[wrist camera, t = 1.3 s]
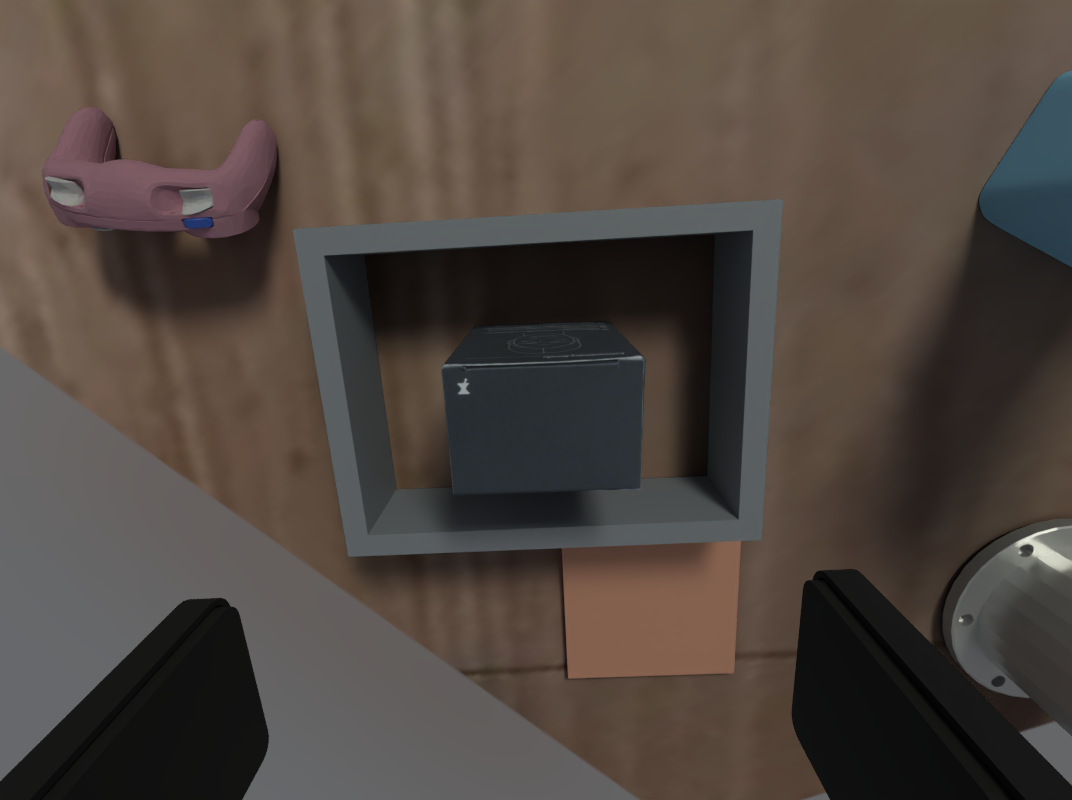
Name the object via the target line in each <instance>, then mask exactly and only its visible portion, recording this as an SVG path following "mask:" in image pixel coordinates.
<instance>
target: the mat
mask: <svg viewBox="0 0 1072 800" xmlns="http://www.w3.org/2000/svg"><path fill="white" fill-rule="evenodd" d="M740 547H741V541H725V542H701V543H676V544H652V545H627V546H602V547H578V548H562V564H563V584H564V605H565V625H566V646H567V666H568V679H569V678H600V677H630V676H661V675H691V674H722V673H734V663H735V643H736V624H737V605H738V586H739V566H740Z"/></svg>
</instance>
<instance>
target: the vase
mask: <svg viewBox="0 0 1072 800" xmlns="http://www.w3.org/2000/svg"><path fill="white" fill-rule="evenodd" d="M979 205H980V209H981V212H982V214H983V216H984V217H985V218H986V219H987V220H988V221H990V222H991V223H992V224H994V225H995V226H997V227H999V228H1000V229H1002V230H1004V231H1006V232H1008V233H1009V234H1011V235H1013V236H1015V237H1017V238H1019V239H1020V240H1022V241H1024V242H1026V243H1028V244H1030V245H1031V246H1033V247H1035V248H1037V249H1039V250H1041V251H1042V252H1044V253H1046V254H1048V255H1050V256H1052V257H1053V258H1055V259H1057V260H1059V261H1061V262H1063V263H1064V264H1066V265H1068V266H1070V267H1072V71H1069V72H1066V73H1063V74H1062V75H1060V76H1059V77H1058V78H1057V79H1056V80H1055V81H1054V82H1053V83H1052V85H1051V86H1050V87H1049V89H1048V90H1047V91H1046V93H1045V94H1044V96H1043V97H1042V99H1041V100H1040V102H1039V103H1038V105H1037V106H1036V108H1035V110H1034V111H1033V113H1032V114H1031V116H1030V117H1029V119H1028V120H1027V122H1026V123H1025V125H1024V126H1023V128H1022V129H1021V131H1020V132H1019V134H1018V135H1017V137H1016V139H1015V140H1014V142H1013V143H1012V145H1011V146H1010V148H1009V149H1008V151H1007V152H1006V154H1005V155H1004V157H1003V158H1002V160H1001V161H1000V163H999V164H998V166H997V168H996V169H995V171H994V172H993V174H992V175H991V177H990V178H989V180H988V181H987V183H986V184H985V186H984V188H983V190H982V191H981V194H980V197H979Z"/></svg>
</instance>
